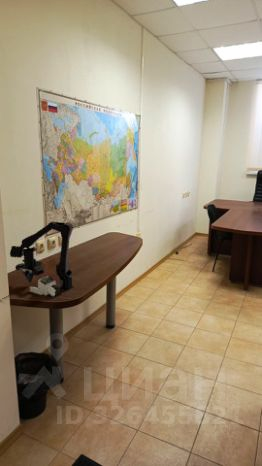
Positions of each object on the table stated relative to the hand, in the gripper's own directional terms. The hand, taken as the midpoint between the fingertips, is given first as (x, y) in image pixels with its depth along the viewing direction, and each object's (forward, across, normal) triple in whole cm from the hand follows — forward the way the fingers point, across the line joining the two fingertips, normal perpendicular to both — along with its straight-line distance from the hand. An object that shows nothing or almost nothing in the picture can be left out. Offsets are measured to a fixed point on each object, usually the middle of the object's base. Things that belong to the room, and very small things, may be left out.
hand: (30, 282), depth 190 cm
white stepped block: (-3, -12, +1) cm, 13 cm away
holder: (+2, -10, 0) cm, 10 cm away
